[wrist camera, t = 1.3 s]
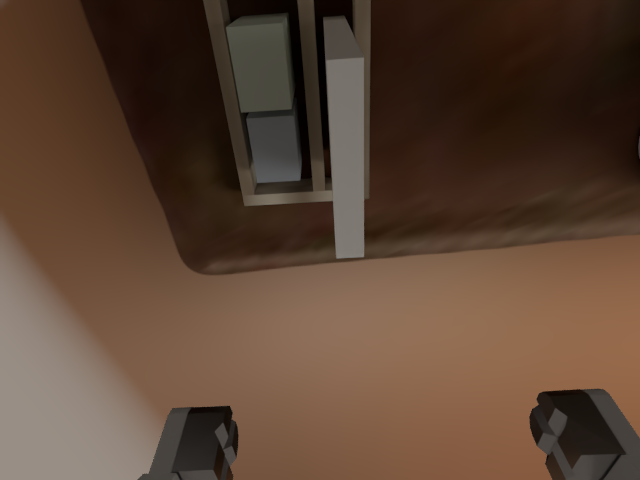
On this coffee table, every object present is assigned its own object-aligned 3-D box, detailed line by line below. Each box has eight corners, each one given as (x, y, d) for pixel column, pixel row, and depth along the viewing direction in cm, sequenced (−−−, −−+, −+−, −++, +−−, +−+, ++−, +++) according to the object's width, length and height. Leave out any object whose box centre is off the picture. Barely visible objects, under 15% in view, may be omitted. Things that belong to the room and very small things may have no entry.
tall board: (344, 15, 33) (363, 57, 19) (347, 149, 40) (363, 256, 26) (323, 16, 34) (326, 60, 19) (330, 150, 40) (336, 258, 26)
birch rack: (367, -48, 31) (371, -49, 29) (366, 185, 43) (369, 198, 40) (205, -35, 31) (196, -35, 29) (248, 192, 43) (244, 206, 41)
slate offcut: (296, 97, 37) (293, 115, 33) (302, 156, 41) (300, 180, 36) (254, 99, 38) (246, 118, 33) (264, 158, 41) (257, 183, 37)
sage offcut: (288, 12, 33) (282, 23, 28) (295, 86, 37) (291, 109, 31) (241, 16, 34) (225, 27, 28) (253, 89, 37) (241, 112, 31)
